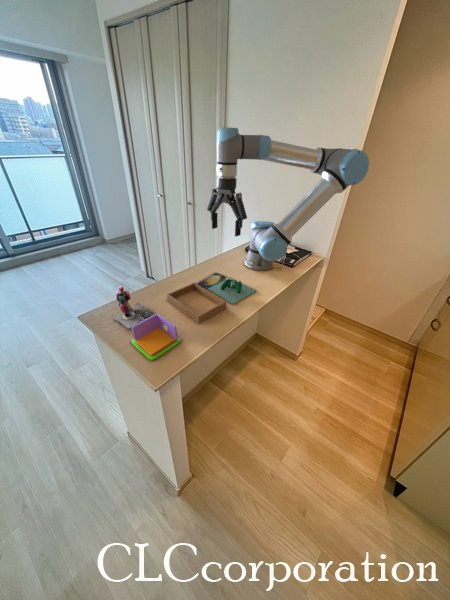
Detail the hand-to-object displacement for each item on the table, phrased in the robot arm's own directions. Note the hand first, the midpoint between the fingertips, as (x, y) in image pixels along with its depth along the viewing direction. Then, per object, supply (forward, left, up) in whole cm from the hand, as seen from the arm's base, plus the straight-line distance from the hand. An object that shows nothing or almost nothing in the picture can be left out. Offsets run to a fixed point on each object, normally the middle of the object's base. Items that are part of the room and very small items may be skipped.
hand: (225, 231), depth 103 cm
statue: (+46, -1, -23) cm, 52 cm away
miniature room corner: (+47, +16, -23) cm, 55 cm away
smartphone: (+6, -2, -24) cm, 25 cm away
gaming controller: (+5, +10, -23) cm, 25 cm away
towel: (+5, +10, -23) cm, 26 cm away
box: (+24, +8, -23) cm, 34 cm away
